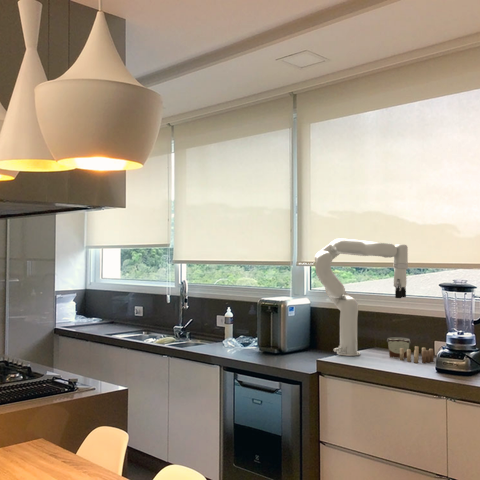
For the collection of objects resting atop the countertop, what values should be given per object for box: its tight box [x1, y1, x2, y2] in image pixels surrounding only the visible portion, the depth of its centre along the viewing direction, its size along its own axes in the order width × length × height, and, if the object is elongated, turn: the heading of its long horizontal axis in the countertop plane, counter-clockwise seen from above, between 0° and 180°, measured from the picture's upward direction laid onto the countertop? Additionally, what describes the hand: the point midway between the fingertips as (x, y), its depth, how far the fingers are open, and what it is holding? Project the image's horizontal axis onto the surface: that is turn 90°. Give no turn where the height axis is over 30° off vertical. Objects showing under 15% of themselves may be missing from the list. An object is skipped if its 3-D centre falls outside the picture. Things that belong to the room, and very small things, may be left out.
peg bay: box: [399, 345, 435, 364], centre depth 287 cm, size 14×14×6 cm
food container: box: [386, 336, 412, 359], centre depth 298 cm, size 12×6×10 cm, turn 74°
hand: (400, 297), depth 306 cm, fingers open, 9 cm apart
